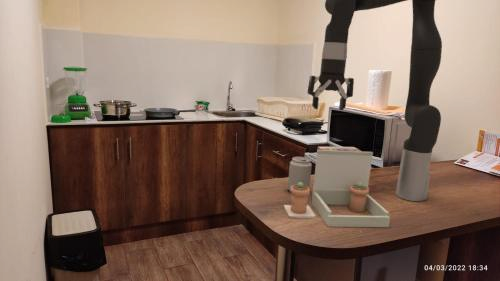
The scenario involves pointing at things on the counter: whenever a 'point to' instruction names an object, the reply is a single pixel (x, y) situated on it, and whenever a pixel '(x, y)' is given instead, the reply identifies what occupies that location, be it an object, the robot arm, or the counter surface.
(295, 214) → the tile
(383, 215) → the cold frame
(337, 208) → the counter surface
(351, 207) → the clay pot
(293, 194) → the clay pot
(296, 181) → the can
